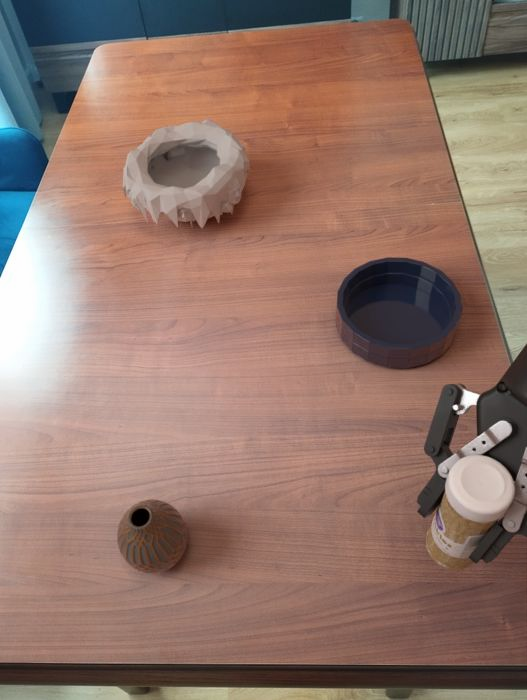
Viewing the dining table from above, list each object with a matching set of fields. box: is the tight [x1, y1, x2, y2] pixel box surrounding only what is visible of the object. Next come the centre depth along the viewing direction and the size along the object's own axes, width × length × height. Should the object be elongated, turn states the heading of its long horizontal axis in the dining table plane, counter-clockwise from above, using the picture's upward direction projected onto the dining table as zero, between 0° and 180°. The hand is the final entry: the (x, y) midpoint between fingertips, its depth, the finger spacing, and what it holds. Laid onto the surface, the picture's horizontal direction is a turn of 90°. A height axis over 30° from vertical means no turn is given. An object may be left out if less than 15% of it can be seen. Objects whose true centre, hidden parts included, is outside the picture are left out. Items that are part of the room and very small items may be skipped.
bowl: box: [122, 118, 251, 229], centre depth 93 cm, size 21×20×10 cm
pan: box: [335, 256, 463, 369], centre depth 76 cm, size 16×16×4 cm
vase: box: [116, 498, 189, 574], centre depth 59 cm, size 7×7×9 cm
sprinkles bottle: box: [425, 455, 515, 571], centre depth 47 cm, size 5×5×13 cm
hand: (449, 534), depth 46 cm, fingers closed on sprinkles bottle, 4 cm apart
